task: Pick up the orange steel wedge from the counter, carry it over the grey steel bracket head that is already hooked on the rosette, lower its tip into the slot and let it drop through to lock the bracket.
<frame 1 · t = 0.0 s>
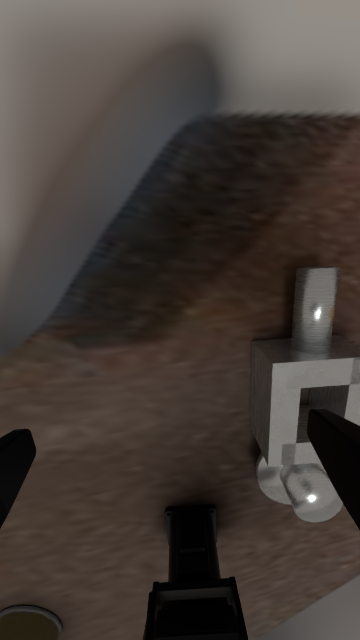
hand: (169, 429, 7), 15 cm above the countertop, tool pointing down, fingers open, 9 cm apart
canister: (29, 621, 34), on the countertop
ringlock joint: (291, 383, 23), on the countertop
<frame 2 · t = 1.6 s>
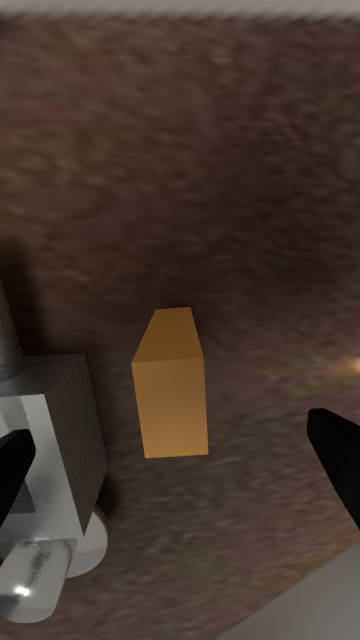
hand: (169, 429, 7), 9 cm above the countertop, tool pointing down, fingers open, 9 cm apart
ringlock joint: (42, 417, 17), on the countertop
wedge: (175, 335, 15), on the countertop
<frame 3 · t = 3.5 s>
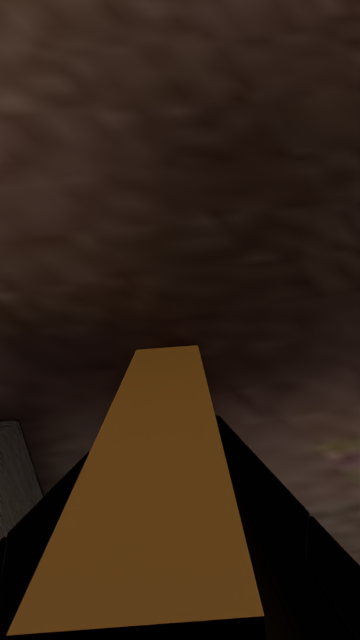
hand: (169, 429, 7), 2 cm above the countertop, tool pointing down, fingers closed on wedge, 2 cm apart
wedge: (171, 392, 9), on the countertop, touching gripper
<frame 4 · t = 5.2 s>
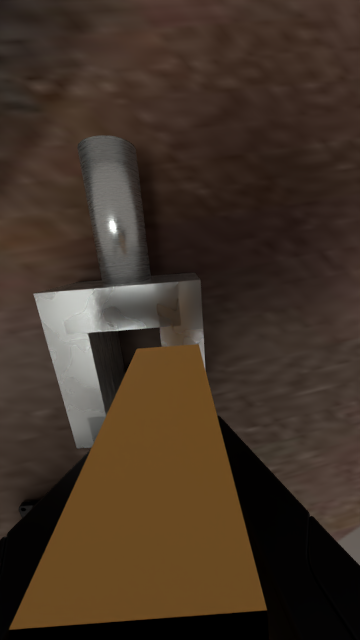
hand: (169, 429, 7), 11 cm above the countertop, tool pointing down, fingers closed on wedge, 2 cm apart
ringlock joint: (144, 341, 18), on the countertop
wedge: (172, 391, 9), point 9 cm above the countertop, touching gripper
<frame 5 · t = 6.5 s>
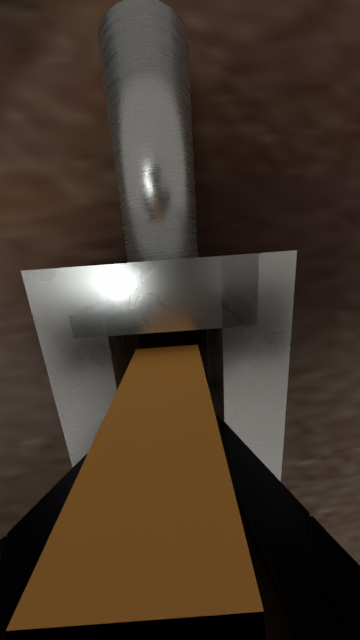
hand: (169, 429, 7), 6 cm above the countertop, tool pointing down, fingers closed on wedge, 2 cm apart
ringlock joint: (173, 349, 13), on the countertop
wedge: (171, 391, 9), point 4 cm above the countertop, touching gripper
when the fingers open (6 cm above the countertop, at t = 7.2 s): wedge drops 4 cm, resting in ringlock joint.
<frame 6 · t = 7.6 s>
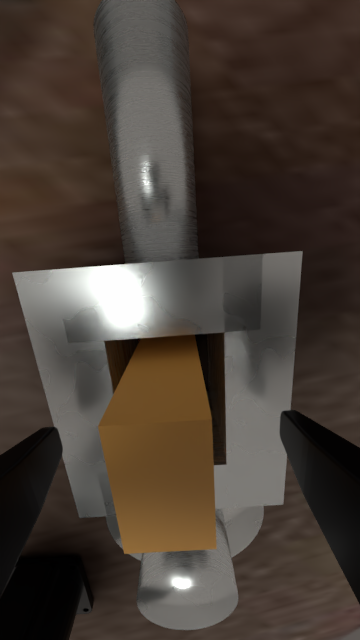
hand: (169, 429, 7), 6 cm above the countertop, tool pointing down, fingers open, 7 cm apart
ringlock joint: (173, 352, 13), on the countertop
wedge: (172, 352, 13), resting in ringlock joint
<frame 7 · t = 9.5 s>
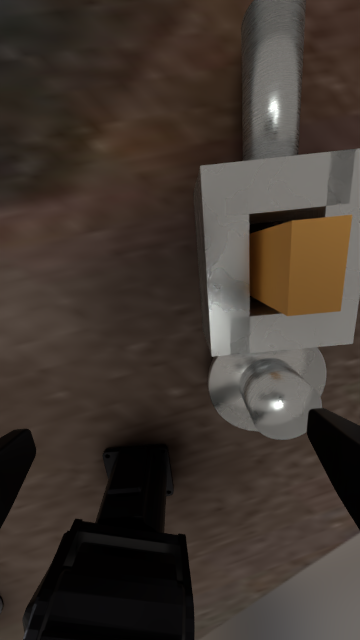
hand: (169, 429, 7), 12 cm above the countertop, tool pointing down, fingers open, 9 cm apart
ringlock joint: (254, 262, 17), on the countertop
wedge: (254, 262, 17), resting in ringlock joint
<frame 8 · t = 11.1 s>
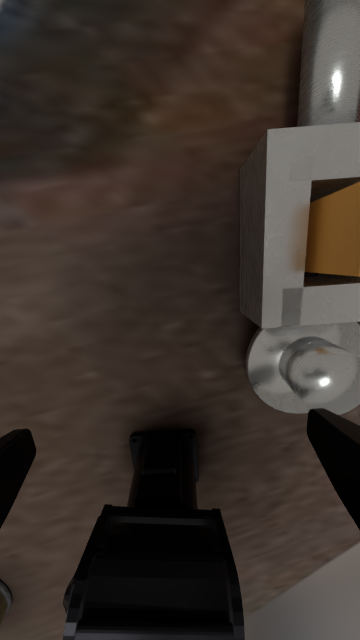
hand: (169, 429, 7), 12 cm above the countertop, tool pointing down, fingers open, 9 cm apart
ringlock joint: (295, 241, 17), on the countertop
wedge: (294, 242, 17), resting in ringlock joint
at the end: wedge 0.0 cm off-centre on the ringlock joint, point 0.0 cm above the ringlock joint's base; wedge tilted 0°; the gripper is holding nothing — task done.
